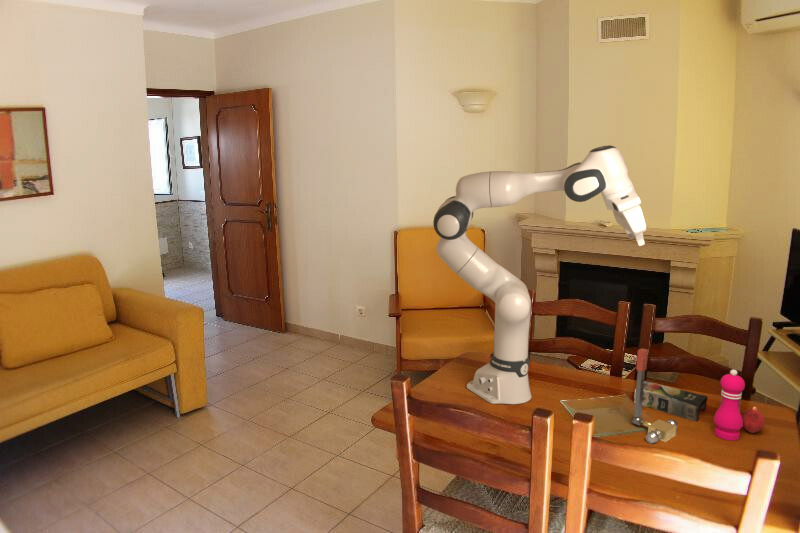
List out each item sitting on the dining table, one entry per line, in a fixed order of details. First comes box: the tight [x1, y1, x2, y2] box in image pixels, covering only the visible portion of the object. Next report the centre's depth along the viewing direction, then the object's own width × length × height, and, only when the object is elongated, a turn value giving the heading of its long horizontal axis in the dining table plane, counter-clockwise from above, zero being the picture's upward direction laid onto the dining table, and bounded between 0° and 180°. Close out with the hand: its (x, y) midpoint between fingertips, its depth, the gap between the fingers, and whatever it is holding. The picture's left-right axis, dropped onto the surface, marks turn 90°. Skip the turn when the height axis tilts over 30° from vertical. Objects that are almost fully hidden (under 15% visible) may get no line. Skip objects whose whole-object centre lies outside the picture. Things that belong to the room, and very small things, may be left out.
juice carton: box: [633, 380, 708, 423], centre depth 181 cm, size 20×10×6 cm, turn 48°
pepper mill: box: [713, 369, 746, 442], centre depth 161 cm, size 7×7×20 cm
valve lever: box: [631, 347, 649, 427], centre depth 167 cm, size 2×2×23 cm
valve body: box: [640, 418, 679, 444], centre depth 165 cm, size 9×14×3 cm, turn 129°
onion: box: [741, 406, 766, 434], centre depth 164 cm, size 6×6×8 cm
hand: (636, 241), depth 167 cm, fingers open, 8 cm apart
